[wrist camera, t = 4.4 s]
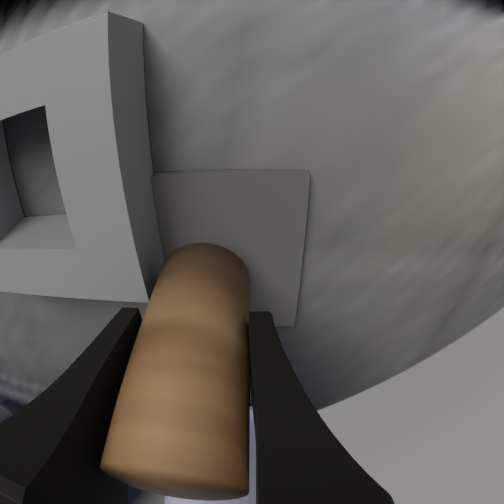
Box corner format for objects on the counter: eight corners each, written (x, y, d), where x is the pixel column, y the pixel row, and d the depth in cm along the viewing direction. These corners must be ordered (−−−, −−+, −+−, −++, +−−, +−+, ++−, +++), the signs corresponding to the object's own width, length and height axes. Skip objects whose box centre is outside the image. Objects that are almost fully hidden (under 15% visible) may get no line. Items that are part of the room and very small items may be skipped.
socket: (166, 257, 14) (149, 302, 11) (10, 256, 14) (-17, 289, 11) (142, 23, 8) (108, 11, 6) (-31, 87, 8) (-72, 101, 6)
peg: (254, 311, 13) (254, 502, 6) (172, 314, 13) (134, 491, 7) (246, 239, 11) (240, 473, 4) (151, 246, 11) (72, 450, 5)
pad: (293, 320, 16) (294, 326, 15) (144, 318, 16) (142, 323, 15) (308, 170, 11) (310, 173, 11) (108, 176, 11) (104, 179, 11)
